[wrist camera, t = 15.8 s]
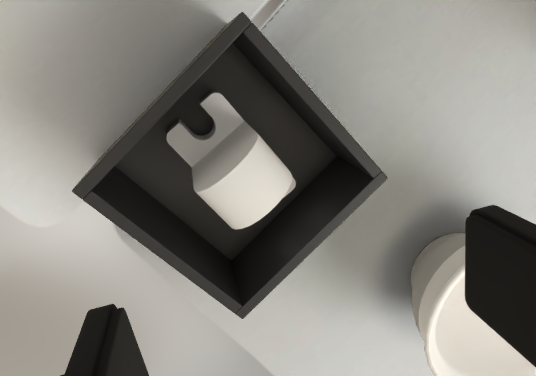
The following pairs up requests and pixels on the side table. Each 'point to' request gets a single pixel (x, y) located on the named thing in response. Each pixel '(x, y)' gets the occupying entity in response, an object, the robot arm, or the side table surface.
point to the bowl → (456, 318)
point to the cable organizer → (232, 165)
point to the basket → (196, 209)
